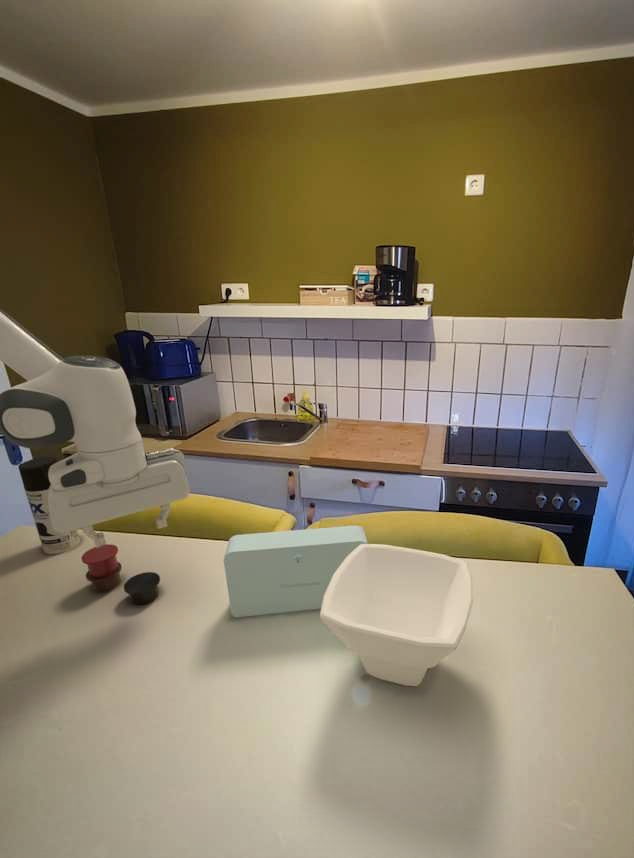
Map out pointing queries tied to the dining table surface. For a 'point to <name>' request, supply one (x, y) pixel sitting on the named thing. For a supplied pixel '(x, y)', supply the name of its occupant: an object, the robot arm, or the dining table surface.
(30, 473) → the spray can
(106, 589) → the pod brown
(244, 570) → the mint green box
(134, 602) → the pod black
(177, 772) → the dining table surface
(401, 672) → the bowl
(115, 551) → the pod burgundy
